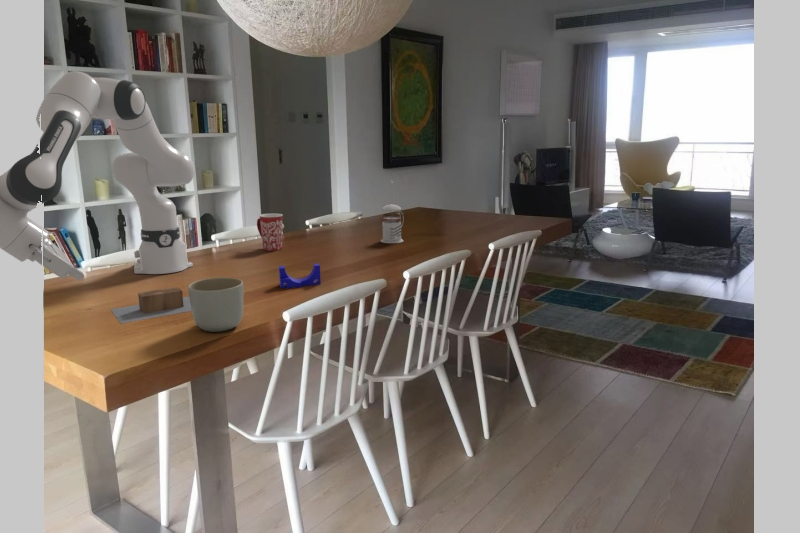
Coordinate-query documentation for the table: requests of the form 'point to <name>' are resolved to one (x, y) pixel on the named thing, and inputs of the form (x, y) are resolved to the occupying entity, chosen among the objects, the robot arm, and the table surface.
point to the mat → (136, 314)
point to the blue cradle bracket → (299, 282)
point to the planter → (217, 303)
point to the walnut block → (160, 300)
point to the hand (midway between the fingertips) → (81, 277)
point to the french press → (392, 224)
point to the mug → (270, 231)
